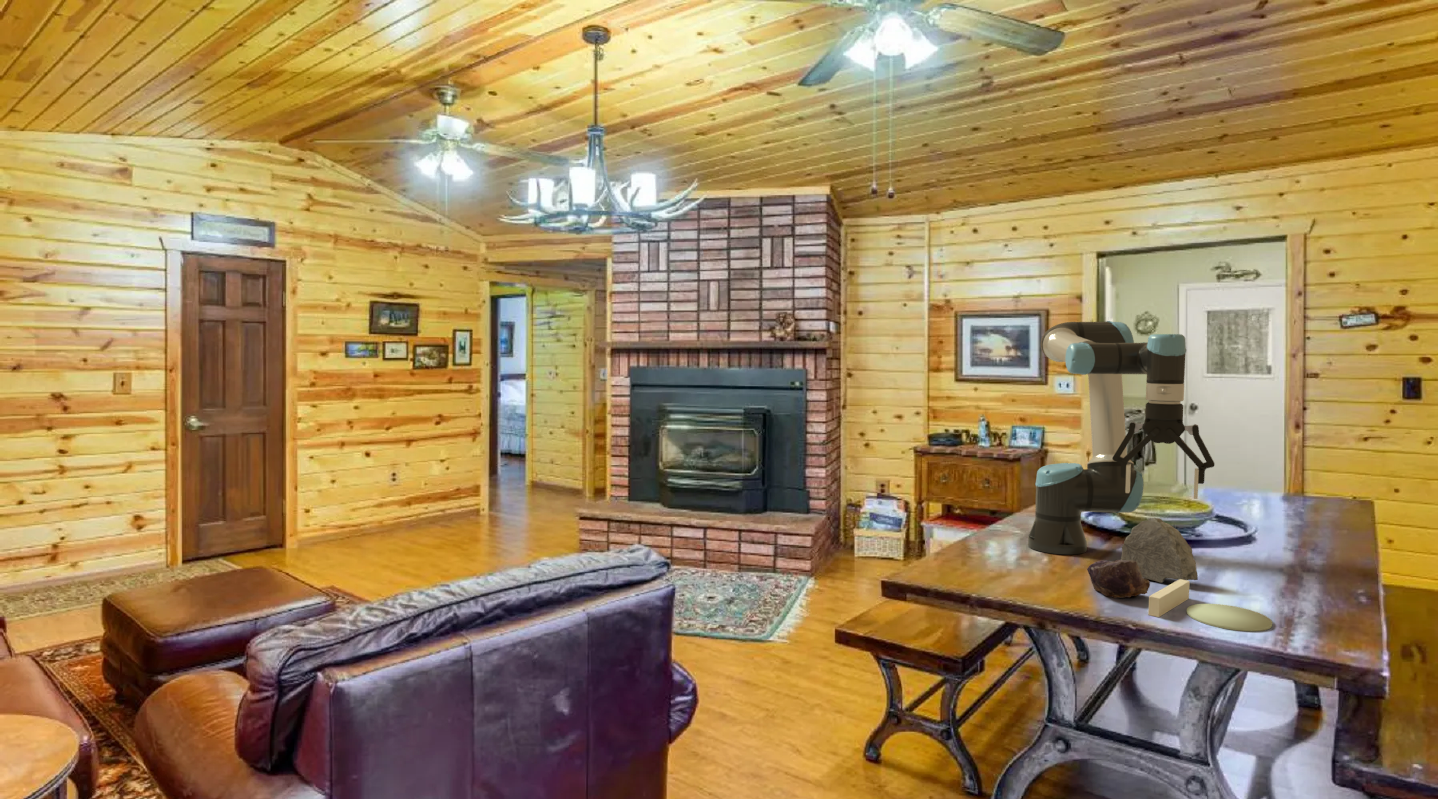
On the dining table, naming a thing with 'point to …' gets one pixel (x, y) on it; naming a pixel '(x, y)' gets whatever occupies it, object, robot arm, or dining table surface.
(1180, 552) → the decorative rock
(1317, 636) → the dining table surface
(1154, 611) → the rail
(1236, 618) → the felt pad
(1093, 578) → the rock
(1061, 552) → the robot arm
